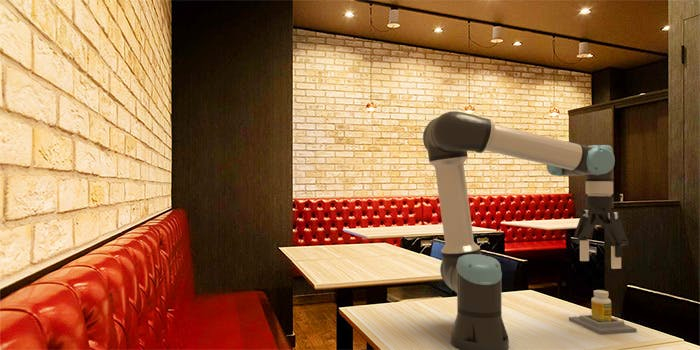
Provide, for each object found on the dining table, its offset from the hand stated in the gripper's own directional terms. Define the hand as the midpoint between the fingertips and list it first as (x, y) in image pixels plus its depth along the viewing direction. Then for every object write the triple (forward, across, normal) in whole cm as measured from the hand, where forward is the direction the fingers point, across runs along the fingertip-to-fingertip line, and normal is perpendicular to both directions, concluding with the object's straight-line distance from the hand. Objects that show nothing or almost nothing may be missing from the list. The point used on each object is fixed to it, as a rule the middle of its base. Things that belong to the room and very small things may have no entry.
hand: (599, 264), depth 140 cm
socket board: (+19, 0, 0) cm, 19 cm away
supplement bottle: (+18, 0, 0) cm, 18 cm away
